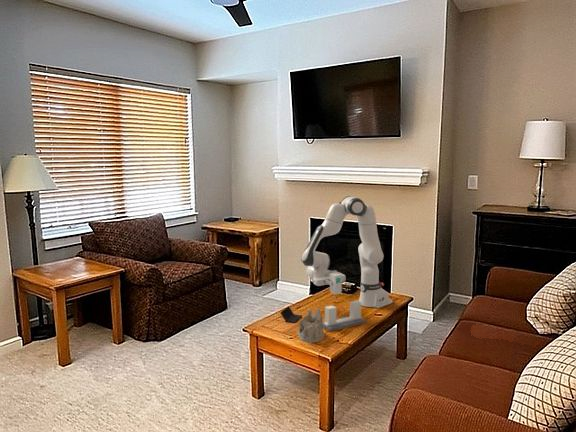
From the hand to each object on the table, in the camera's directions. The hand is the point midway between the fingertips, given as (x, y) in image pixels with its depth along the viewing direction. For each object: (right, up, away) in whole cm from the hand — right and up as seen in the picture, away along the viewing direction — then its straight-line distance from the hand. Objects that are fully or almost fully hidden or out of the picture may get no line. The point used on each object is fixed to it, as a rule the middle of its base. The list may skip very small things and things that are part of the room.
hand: (336, 283), depth 250 cm
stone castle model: (-17, -25, -19) cm, 36 cm away
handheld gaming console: (-26, -22, +4) cm, 35 cm away
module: (0, -6, +2) cm, 6 cm away
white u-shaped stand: (+3, -23, -4) cm, 23 cm away
